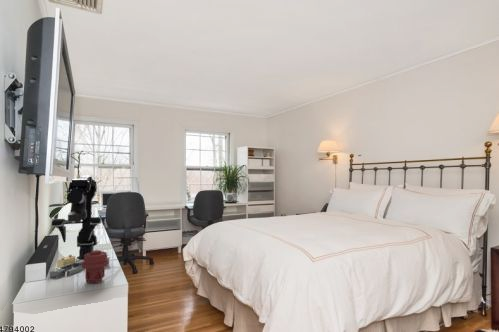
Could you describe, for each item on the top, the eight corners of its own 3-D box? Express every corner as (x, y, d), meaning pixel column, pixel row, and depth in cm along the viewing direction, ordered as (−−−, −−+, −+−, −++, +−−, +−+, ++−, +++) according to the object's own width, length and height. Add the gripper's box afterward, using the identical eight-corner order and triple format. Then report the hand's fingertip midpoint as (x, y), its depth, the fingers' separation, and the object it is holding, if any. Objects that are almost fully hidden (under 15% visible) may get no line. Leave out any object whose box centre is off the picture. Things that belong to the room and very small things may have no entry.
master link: (69, 263, 143) (69, 254, 143) (75, 264, 142) (75, 254, 142) (57, 268, 136) (57, 257, 136) (63, 268, 135) (63, 258, 135)
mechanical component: (105, 284, 115) (77, 287, 112) (110, 276, 124) (85, 278, 122) (106, 253, 115) (78, 255, 113) (111, 247, 125) (85, 249, 122)
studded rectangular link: (75, 265, 139) (75, 259, 139) (90, 266, 137) (90, 260, 137) (45, 276, 124) (45, 269, 124) (62, 278, 122) (62, 271, 122)
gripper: (49, 205, 119) (46, 243, 116) (99, 203, 126) (97, 240, 122) (56, 207, 129) (53, 242, 126) (102, 205, 136) (101, 239, 133)
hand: (76, 241), depth 126 cm, fingers open, 9 cm apart
